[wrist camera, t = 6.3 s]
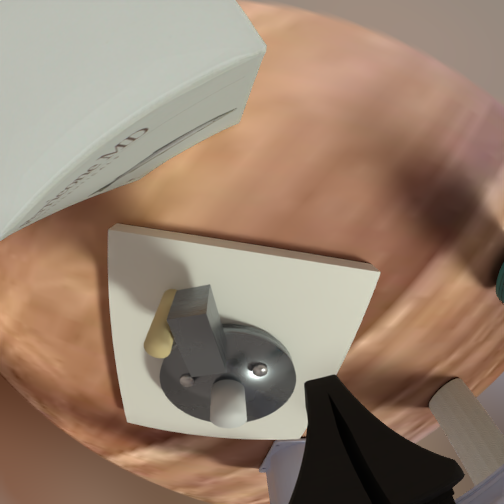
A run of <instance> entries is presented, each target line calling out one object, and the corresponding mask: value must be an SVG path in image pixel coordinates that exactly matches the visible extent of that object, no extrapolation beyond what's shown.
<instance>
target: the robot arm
mask: <svg viewBox="0 0 504 504" xmlns="http://www.w3.org/2000/svg"><path fill="white" fill-rule="evenodd" d="M304 390H305V407H306V412H307V418H308V425H307V435H306V438H304V439H287V440H275V441H274V443H273V445H272V447H271V449H270V450H269V452H268V454H267V456H266V458H265V459H264V461H263V463H262V465H261V466H260V468H259V472H266V476H267V483H268V491H269V498H270V504H504V464H503V465H502V466H501V467H499V468H498V469H497V470H496V471H495V472H493V473H492V474H491V475H490V476H488V477H487V478H486V479H484V480H483V481H482V482H480V483H479V484H478V485H476V486H475V487H473V488H472V489H471V490H469V491H468V492H466V493H465V494H463V495H462V496H460V497H459V498H457V499H456V500H454V499H453V496H452V495H454V491H453V489H452V488H453V487H454V486H455V485H456V484H457V483H458V482H460V481H461V480H462V479H463V477H464V475H465V474H464V473H463V471H462V469H461V468H460V466H459V465H458V464H457V462H456V461H455V460H453V459H450V458H447V457H444V456H441V455H438V454H436V453H433V452H431V451H429V450H426V449H424V448H422V447H420V446H418V445H416V444H415V443H413V442H411V441H409V440H407V439H405V438H404V437H402V436H401V435H399V434H398V433H396V432H395V431H393V430H392V429H390V428H389V427H388V426H386V425H385V424H384V423H382V422H381V421H380V420H379V419H378V418H376V417H375V416H374V415H373V414H372V413H371V412H369V411H368V410H367V409H366V408H365V407H364V406H363V405H362V404H361V403H360V402H359V401H358V400H357V399H356V398H355V397H354V396H353V395H352V394H351V392H350V391H349V390H348V389H347V388H346V387H345V386H344V384H343V383H342V382H341V381H340V379H339V378H338V377H337V375H335V374H333V375H329V376H325V377H321V378H317V379H313V380H309V381H306V382H305V383H304Z"/></svg>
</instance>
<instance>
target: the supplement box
mask: <svg viewBox="0 0 504 504" xmlns="http://www.w3.org/2000/svg"><path fill="white" fill-rule="evenodd" d="M266 46H267V45H266V44H265V42H264V41H263V40H262V38H261V37H260V35H259V34H258V32H257V31H256V29H255V28H254V26H253V25H252V23H251V22H250V20H249V19H248V17H247V16H246V14H245V13H244V11H243V10H242V9H241V7H240V6H239V4H238V3H237V2H236V0H0V241H1V240H3V239H4V238H6V237H7V236H9V235H11V234H12V233H14V232H16V231H18V230H20V229H22V228H24V227H26V226H28V225H30V224H32V223H34V222H36V221H38V220H40V219H43V218H45V217H47V216H49V215H51V214H53V213H55V212H58V211H60V210H62V209H64V208H67V207H69V206H71V205H74V204H76V203H78V202H81V201H83V200H86V199H88V198H91V197H94V196H96V195H99V194H101V193H104V192H107V191H109V190H112V189H115V188H117V187H120V186H123V185H126V184H129V183H131V182H134V181H137V180H139V179H141V178H142V177H144V176H145V175H147V174H148V173H149V172H151V171H152V170H154V169H155V168H157V167H158V166H160V165H161V164H163V163H164V162H166V161H167V160H169V159H171V158H173V157H174V156H176V155H178V154H179V153H181V152H183V151H185V150H186V149H188V148H190V147H192V146H194V145H195V144H197V143H199V142H201V141H203V140H205V139H207V138H208V137H210V136H212V135H214V134H216V133H218V132H220V131H223V130H225V129H227V128H229V127H231V126H233V125H236V124H238V123H239V122H240V120H241V117H242V114H243V111H244V109H245V106H246V103H247V100H248V97H249V95H250V92H251V89H252V86H253V83H254V80H255V78H256V75H257V73H258V70H259V67H260V64H261V62H262V59H263V56H264V54H265V53H266Z"/></svg>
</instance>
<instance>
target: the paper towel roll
mask: <svg viewBox="0 0 504 504" xmlns="http://www.w3.org/2000/svg"><path fill="white" fill-rule="evenodd" d="M429 408H430V410H431V412H432V413H433V415H434V416H435V418H436V419H437V421H438V423H439V424H440V426H441V427H442V429H443V431H444V432H445V434H446V436H447V437H448V439H449V441H450V442H451V444H452V446H453V447H454V449H455V451H456V453H457V454H458V456H459V458H460V459H461V461H462V463H463V465H464V466H465V468H466V470H467V472H468V474H469V475H470V477H471V479H472V481H473V483H474V485H475V486H476V485H478V484H479V483H480V482H482V481H483V480H484V479H486V478H487V477H488V476H490V475H491V474H492V473H493V472H495V471H496V470H497V469H498V468H499V467H501V466H502V465H503V464H504V436H503V434H502V433H501V432H500V430H499V429H498V427H497V426H496V424H495V423H494V421H493V420H492V419H491V417H490V416H489V415H488V413H487V412H486V411H485V409H484V408H483V407H482V405H481V404H480V403H479V401H478V400H477V399H476V397H475V396H474V395H473V393H472V392H471V391H470V389H469V388H468V387H467V386H466V384H465V383H464V382H463V381H462V379H460V378H456V379H454V380H451V381H450V382H448V383H447V384H445V385H444V386H443V387H442V388H441V389H439V390H438V391H437V392H436V394H435V395H434V396H433V397H432V399H431V400H430V402H429Z"/></svg>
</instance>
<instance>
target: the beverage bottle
mask: <svg viewBox="0 0 504 504" xmlns="http://www.w3.org/2000/svg"><path fill="white" fill-rule="evenodd" d="M496 294H497V297H498V298H499V300H500V301H502V303H504V262H503V264H502V267H501V269H500V272H499V275H498V278H497V282H496Z"/></svg>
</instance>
